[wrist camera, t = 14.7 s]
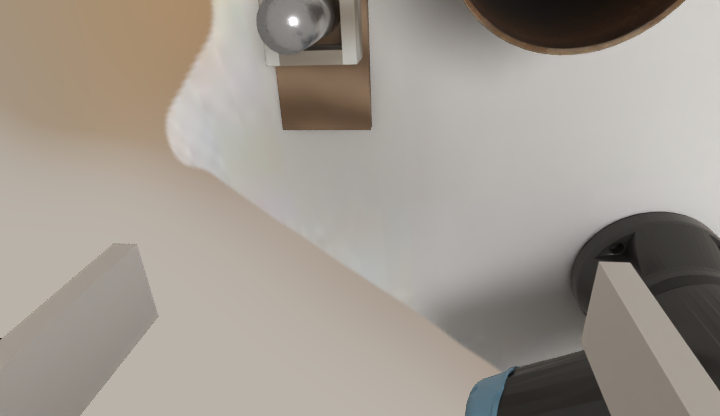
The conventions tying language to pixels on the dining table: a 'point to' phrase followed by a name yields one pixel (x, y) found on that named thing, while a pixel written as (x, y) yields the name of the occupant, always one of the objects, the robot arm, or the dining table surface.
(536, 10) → the plant pot
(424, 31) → the dining table surface
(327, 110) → the socket board
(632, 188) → the dining table surface
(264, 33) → the pin
